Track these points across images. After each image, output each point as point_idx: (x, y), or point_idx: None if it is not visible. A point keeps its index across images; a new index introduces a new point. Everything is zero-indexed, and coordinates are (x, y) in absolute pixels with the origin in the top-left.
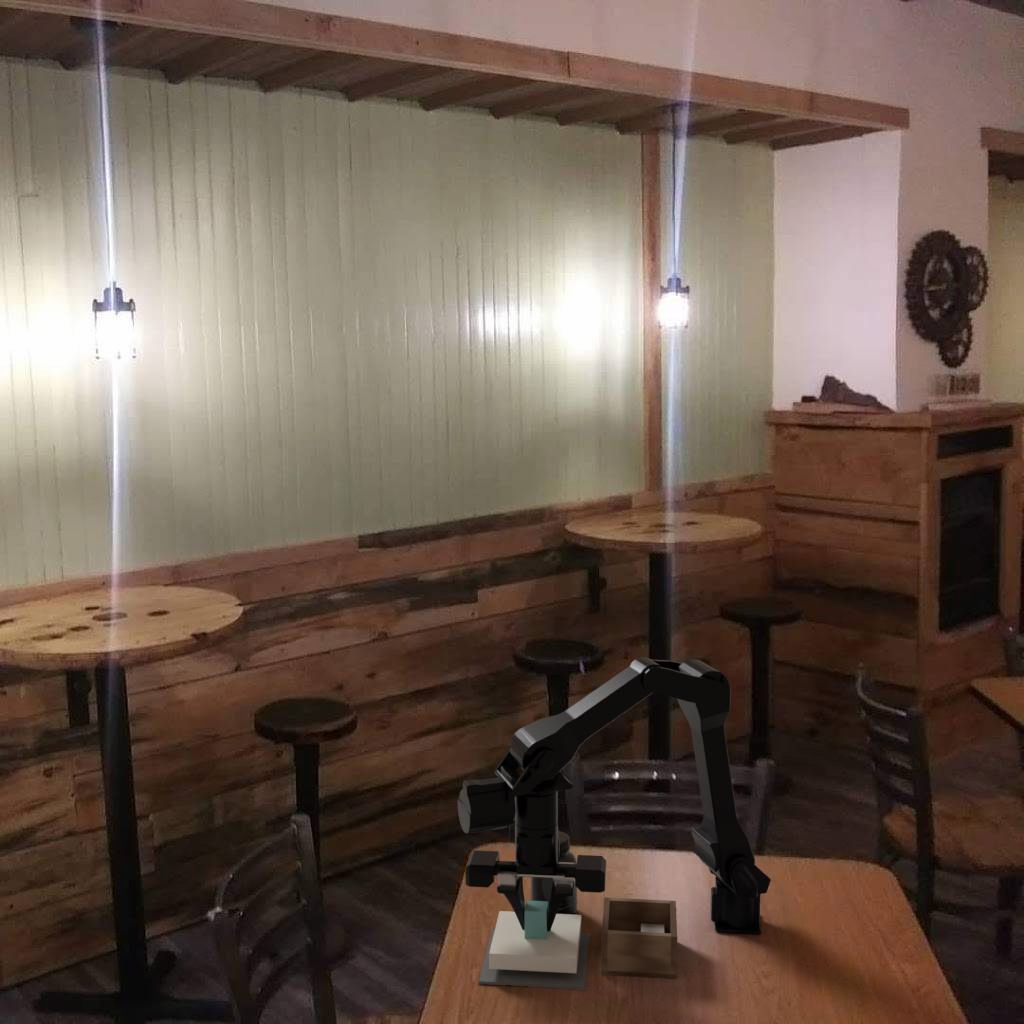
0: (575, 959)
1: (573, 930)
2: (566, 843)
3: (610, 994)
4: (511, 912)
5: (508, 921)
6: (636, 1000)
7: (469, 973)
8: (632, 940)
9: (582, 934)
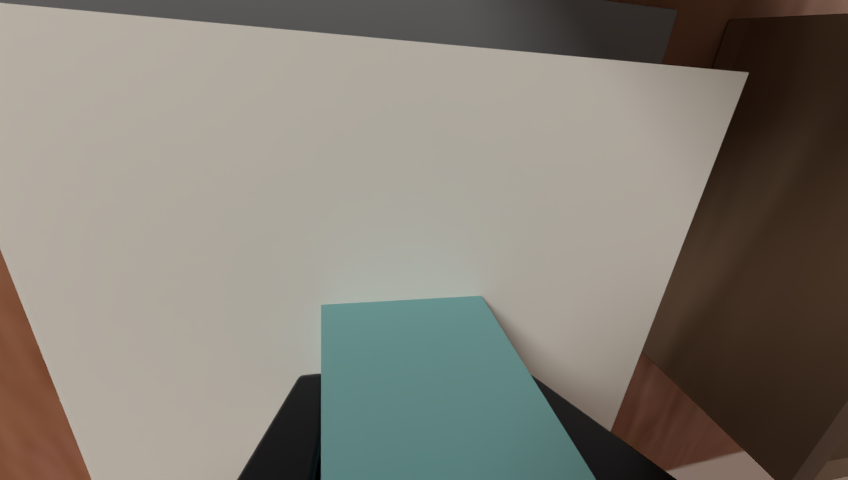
0: None
1: (631, 291)
2: None
3: (617, 417)
4: (91, 32)
5: (128, 235)
6: (675, 424)
7: (61, 420)
8: None
9: (636, 20)
